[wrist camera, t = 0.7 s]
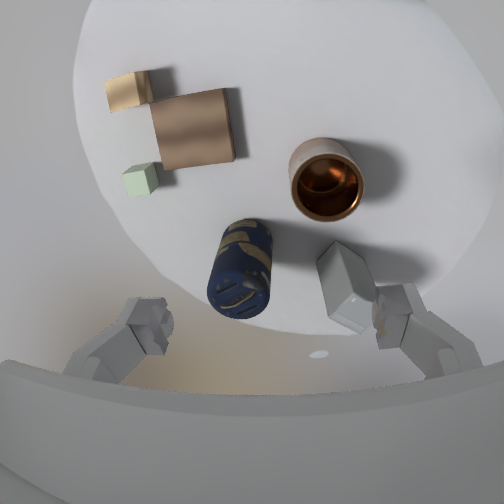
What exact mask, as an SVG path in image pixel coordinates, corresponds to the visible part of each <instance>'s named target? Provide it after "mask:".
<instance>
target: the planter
mask: <svg viewBox="0 0 504 504" xmlns="http://www.w3.org/2000/svg"><path fill="white" fill-rule="evenodd" d="M289 179H290V190H291V196H292V200H293V202H294V204H295V206H296V207H297V209H298V210H299V211H300V212H301V213H302V214H303V215H305V216H306V217H308V218H310V219H312V220H315V221H319V222H335V221H339V220H341V219H344V218H346V217H347V216H349V215H350V214H352V213H353V212H354V211H355V210H356V209H357V207H358V206H359V205H360V203H361V201H362V199H363V195H364V190H365V183H364V178H363V175H362V173H361V171H360V169H359V167H358V166H357V164H356V163H355V162H354V160H353V158H352V157H351V155H350V154H349V152H348V151H347V150H346V149H345V148H344V147H343V146H342V145H341V144H339V143H338V142H336V141H334V140H331V139H327V138H315V139H311V140H308V141H306V142H304V143H302V144H301V145H300V146H299V147H298V148H297V149H296V150H295V151H294V153H293V154H292V156H291V159H290V162H289Z"/></svg>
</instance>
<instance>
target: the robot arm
mask: <svg viewBox="0 0 504 504" xmlns="http://www.w3.org/2000/svg"><path fill="white" fill-rule="evenodd" d="M374 296H375V301H374V302H373V303H372V322H373V326H374V328H376V329H377V333H376V339H377V343H378V347H379V349H388V348H398V347H400V349H401V350H402V351H403V352H404V353H405V354H406V355H407V356H408V357H409V358H410V359H411V360H412V362H413V363H414V364H415V365H416V366H417V367H418V368H419V369H420V370H421V371H422V372H423V373H424V374H425V375H426V378H425V379H424V380H422V381H417V382H411V383H405V384H400V385H393V386H386V387H378V388H371V389H363V390H353V391H343V392H331V393H317V394H299V395H221V394H202V393H187V392H176V391H165V390H156V389H148V388H140V387H132V386H125V385H120V384H119V383H120V382H121V381H122V380H123V379H124V378H125V377H126V376H127V375H128V374H129V373H130V372H131V371H132V370H133V369H134V368H135V367H136V366H137V365H138V364H139V363H140V362H141V361H142V360H143V359H144V358H145V357H146V355H165V352H166V349H167V346H168V344H169V343H168V341H167V338H168V337H169V336H170V335H171V334H172V332H173V327H174V321H173V316H172V314H171V312H170V311H168V310H167V309H166V307H167V302H166V300H165V298H163V297H130V298H129V299H128V300H127V302H126V304H125V306H124V308H123V310H122V312H121V314H120V316H119V317H118V319H117V321H116V323H115V324H111V325H110V326H109V327H108V328H106V329H105V330H103V331H102V332H101V333H99V334H98V335H97V336H95V337H94V338H93V339H91V340H90V341H89V342H87V343H86V344H84V345H83V346H82V347H80V348H79V349H78V350H76V351H75V352H74V353H73V354H72V356H71V358H70V360H69V362H68V364H67V365H66V368H65V369H64V371H63V373H58V372H53V371H49V370H45V369H41V368H37V367H34V366H30V365H26V364H23V363H20V362H17V361H14V360H5V361H3V362H1V363H0V504H504V361H501V362H498V363H494V364H491V365H487V366H483V365H482V362H481V359H480V357H479V355H478V352H477V350H476V348H475V345H474V343H473V342H472V341H471V340H469V339H468V338H467V337H465V336H464V335H463V334H461V333H460V332H459V331H457V330H456V329H454V328H453V327H452V326H450V325H449V324H447V323H446V322H445V321H443V320H442V319H441V318H439V317H438V316H436V315H435V314H433V313H432V312H431V311H428V312H427V310H426V308H425V306H424V304H423V301H422V299H421V297H420V295H419V292H418V290H417V288H416V286H415V284H414V283H413V282H410V283H402V284H394V285H384V286H376V287H375V291H374Z"/></svg>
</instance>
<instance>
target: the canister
mask: <svg viewBox="0 0 504 504" xmlns="http://www.w3.org/2000/svg"><path fill="white" fill-rule="evenodd" d="M272 245H273V244H272V237H271V235H270V233H269V231H268V230H267V229H266V228H265V227H264V226H263V225H261V224H260V223H258V222H255V221H251V220H240V221H237V222H234V223H233V224H231V225H230V226H229V227H228V228H227V229H226V230H225V232H224V234H223V236H222V240H221V243H220V246H219V249H218V252H217V255H216V258H215V261H214V265H213V268H212V272H211V275H210V279H209V283H208V287H207V296H208V300H209V302H210V304H211V305H212V306H213V308H214V309H215V310H217V311H218V312H219V313H221V314H222V315H225V316H227V317H230V318H234V319H248V318H252V317H254V316H256V315H258V314H260V313H261V312H262V311H263V310H264V309H265V308H266V306H267V305H268V302H269V299H270V283H271V268H272Z"/></svg>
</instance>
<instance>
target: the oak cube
mask: <svg viewBox="0 0 504 504" xmlns="http://www.w3.org/2000/svg"><path fill="white" fill-rule="evenodd" d="M104 83H105V88H106V93H107V98H108V103H109V108H110V112H111V113H113V112H116V111H119V110H123V109H126V108H130V107H134V106H137V105H141V104H144V103H147V102H150V101H153V94H152V89H151V84H150V78H149V73H148V71H138V72H132V73H129V74H126V75H123V76H120V77H117V78H114V79H111V80H108V81H105V82H104Z"/></svg>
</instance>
